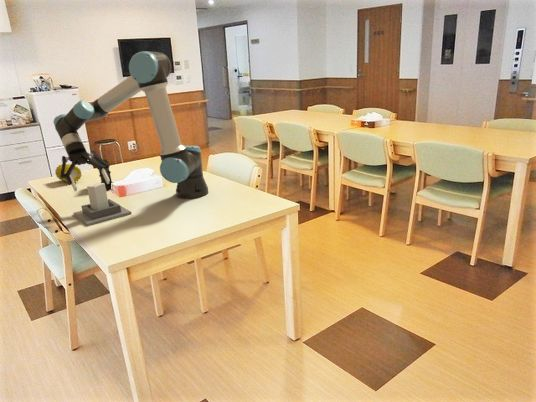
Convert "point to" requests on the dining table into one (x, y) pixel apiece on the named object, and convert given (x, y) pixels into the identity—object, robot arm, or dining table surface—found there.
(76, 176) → the food
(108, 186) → the black knobby slab
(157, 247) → the dining table surface
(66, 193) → the dining table surface
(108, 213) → the dock
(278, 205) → the dining table surface
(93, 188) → the skincare box
